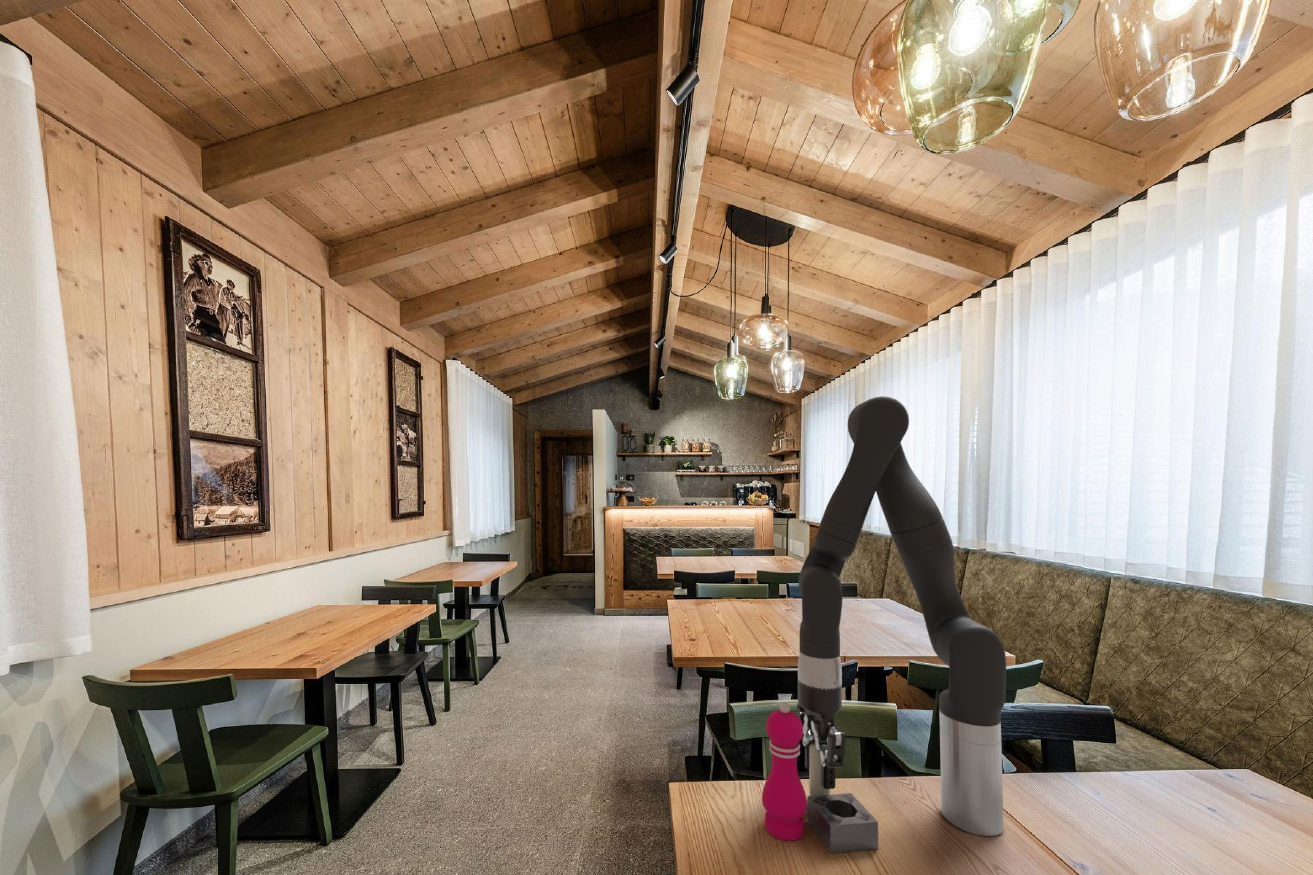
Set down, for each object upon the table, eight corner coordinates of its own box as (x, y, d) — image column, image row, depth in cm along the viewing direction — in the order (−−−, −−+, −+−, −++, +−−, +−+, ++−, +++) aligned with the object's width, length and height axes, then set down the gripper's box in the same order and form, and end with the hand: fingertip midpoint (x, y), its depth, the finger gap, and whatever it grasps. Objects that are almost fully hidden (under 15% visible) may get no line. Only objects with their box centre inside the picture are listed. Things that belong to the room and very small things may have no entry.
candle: (815, 799, 97) (815, 741, 98) (833, 807, 95) (833, 748, 96) (805, 807, 95) (805, 747, 96) (824, 816, 92) (824, 755, 93)
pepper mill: (808, 846, 85) (808, 713, 86) (761, 839, 86) (762, 708, 88) (805, 818, 92) (805, 696, 93) (761, 812, 93) (762, 692, 95)
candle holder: (851, 817, 92) (851, 792, 93) (878, 848, 84) (877, 821, 85) (807, 821, 91) (807, 796, 91) (830, 853, 83) (830, 825, 83)
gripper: (860, 693, 90) (861, 799, 89) (820, 665, 105) (820, 756, 103) (818, 695, 89) (818, 803, 88) (783, 666, 103) (783, 758, 102)
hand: (819, 777), depth 95 cm, fingers open, 5 cm apart
